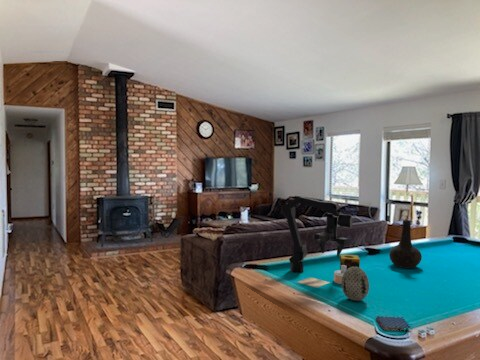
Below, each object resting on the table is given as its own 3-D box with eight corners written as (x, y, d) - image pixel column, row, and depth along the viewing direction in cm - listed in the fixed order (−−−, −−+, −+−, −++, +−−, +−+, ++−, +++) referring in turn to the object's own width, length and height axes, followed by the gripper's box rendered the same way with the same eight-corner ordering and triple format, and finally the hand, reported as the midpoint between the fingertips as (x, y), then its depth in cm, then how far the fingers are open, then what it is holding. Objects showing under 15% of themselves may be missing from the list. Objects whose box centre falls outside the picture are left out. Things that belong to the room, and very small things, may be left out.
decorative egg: (353, 306, 160) (354, 271, 160) (335, 297, 171) (336, 264, 170) (374, 302, 165) (375, 268, 164) (356, 294, 176) (357, 262, 175)
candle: (360, 277, 202) (360, 259, 202) (340, 276, 204) (341, 258, 204) (358, 272, 212) (358, 255, 212) (339, 271, 214) (339, 254, 214)
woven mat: (374, 319, 147) (374, 314, 147) (402, 321, 146) (402, 316, 146) (381, 331, 137) (382, 326, 137) (412, 333, 136) (412, 327, 136)
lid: (330, 274, 192) (331, 265, 192) (340, 271, 198) (340, 262, 198) (347, 278, 185) (347, 269, 185) (355, 274, 192) (356, 266, 192)
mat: (296, 283, 191) (296, 281, 191) (310, 278, 199) (310, 277, 199) (316, 289, 182) (316, 287, 182) (330, 284, 191) (330, 282, 190)
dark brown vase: (388, 268, 222) (390, 221, 221) (389, 261, 239) (390, 217, 238) (422, 271, 215) (423, 223, 214) (420, 264, 232) (421, 219, 231)
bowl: (330, 283, 192) (331, 274, 192) (340, 279, 198) (340, 271, 198) (346, 287, 186) (347, 278, 185) (355, 283, 192) (356, 274, 192)
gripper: (308, 224, 201) (306, 253, 202) (338, 230, 188) (337, 261, 188) (320, 222, 209) (318, 250, 209) (350, 227, 195) (349, 257, 196)
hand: (330, 254), depth 201 cm, fingers open, 9 cm apart
